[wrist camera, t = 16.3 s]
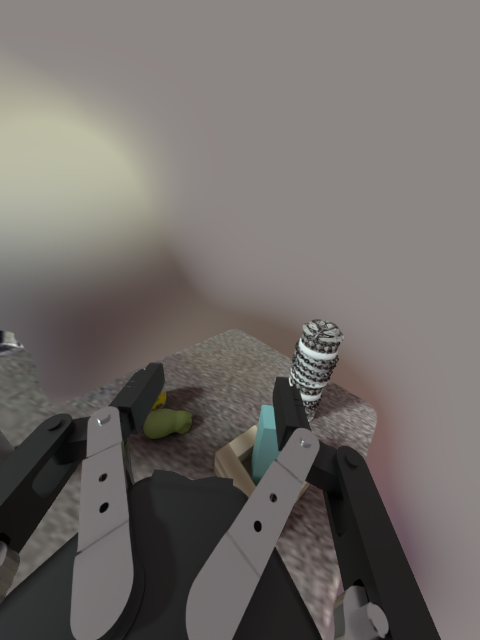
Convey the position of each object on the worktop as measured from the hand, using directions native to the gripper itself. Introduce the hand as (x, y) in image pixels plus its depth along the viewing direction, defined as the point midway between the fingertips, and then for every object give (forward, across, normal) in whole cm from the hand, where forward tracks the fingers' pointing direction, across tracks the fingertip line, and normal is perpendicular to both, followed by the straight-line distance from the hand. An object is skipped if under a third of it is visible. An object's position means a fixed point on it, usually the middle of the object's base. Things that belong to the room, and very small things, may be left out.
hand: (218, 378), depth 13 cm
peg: (+8, -7, +30) cm, 32 cm away
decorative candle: (+25, -18, +32) cm, 45 cm away
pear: (+16, +12, +32) cm, 38 cm away
